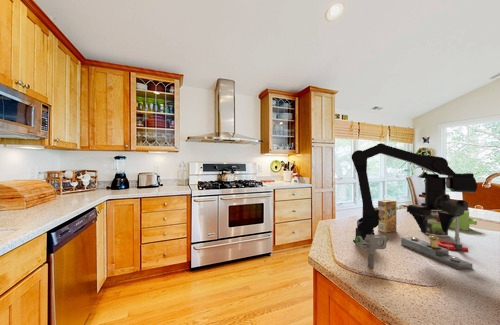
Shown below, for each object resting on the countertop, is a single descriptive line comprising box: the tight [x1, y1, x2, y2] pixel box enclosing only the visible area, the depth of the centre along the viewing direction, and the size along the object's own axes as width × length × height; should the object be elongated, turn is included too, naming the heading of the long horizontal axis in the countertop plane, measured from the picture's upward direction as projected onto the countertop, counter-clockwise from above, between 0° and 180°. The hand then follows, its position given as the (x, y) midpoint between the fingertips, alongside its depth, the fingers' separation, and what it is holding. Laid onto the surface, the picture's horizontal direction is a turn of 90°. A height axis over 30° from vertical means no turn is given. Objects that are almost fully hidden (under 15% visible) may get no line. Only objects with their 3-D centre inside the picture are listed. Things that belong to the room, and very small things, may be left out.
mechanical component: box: [354, 234, 389, 269], centre depth 67 cm, size 3×10×10 cm, turn 95°
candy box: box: [377, 199, 398, 234], centre depth 104 cm, size 9×4×15 cm, turn 114°
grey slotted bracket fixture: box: [400, 236, 473, 270], centre depth 76 cm, size 6×21×4 cm, turn 9°
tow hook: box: [438, 218, 469, 252], centre depth 85 cm, size 8×13×9 cm
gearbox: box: [450, 210, 478, 231], centre depth 113 cm, size 18×10×10 cm, turn 40°
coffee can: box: [420, 202, 449, 238], centre depth 102 cm, size 10×10×14 cm
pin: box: [428, 235, 440, 250], centre depth 76 cm, size 3×3×7 cm
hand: (434, 232), depth 76 cm, fingers open, 9 cm apart
